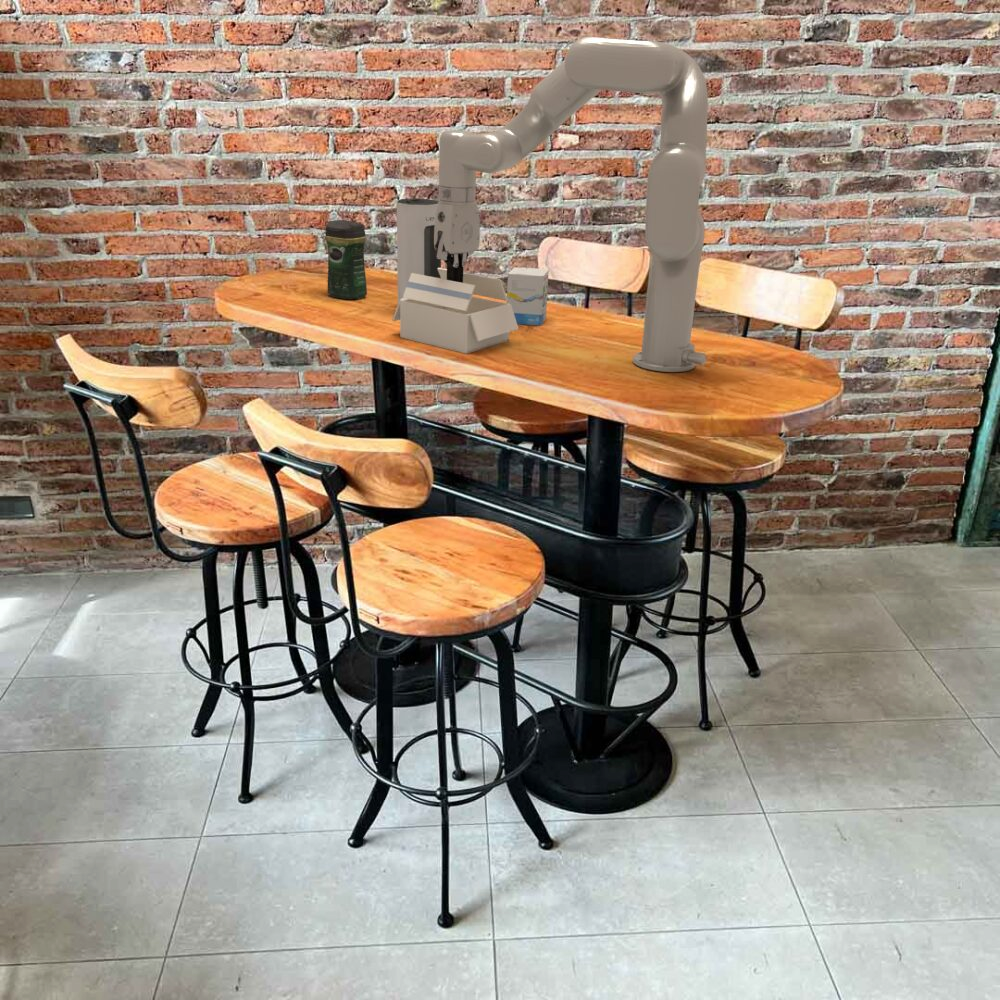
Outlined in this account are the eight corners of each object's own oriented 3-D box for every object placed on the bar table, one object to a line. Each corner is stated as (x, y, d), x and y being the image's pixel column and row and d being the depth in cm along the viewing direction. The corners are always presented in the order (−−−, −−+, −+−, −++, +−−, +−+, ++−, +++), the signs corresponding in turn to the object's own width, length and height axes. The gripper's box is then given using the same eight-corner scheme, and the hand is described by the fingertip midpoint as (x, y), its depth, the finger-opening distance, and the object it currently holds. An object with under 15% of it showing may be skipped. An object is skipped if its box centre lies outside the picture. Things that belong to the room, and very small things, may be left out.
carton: (519, 343, 210) (520, 305, 207) (477, 356, 199) (478, 316, 196) (434, 323, 223) (434, 287, 220) (390, 335, 213) (390, 297, 209)
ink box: (540, 326, 225) (543, 275, 220) (504, 323, 226) (506, 272, 221) (546, 318, 232) (549, 268, 228) (511, 315, 234) (513, 266, 229)
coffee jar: (372, 296, 246) (371, 221, 239) (351, 301, 240) (349, 224, 233) (343, 291, 251) (341, 216, 244) (322, 296, 245) (319, 219, 238)
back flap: (507, 299, 208) (500, 279, 204) (506, 301, 208) (499, 280, 204) (446, 287, 218) (438, 267, 214) (445, 288, 218) (437, 268, 214)
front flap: (466, 311, 198) (475, 286, 198) (465, 310, 198) (474, 285, 198) (403, 297, 208) (412, 273, 208) (402, 297, 207) (411, 272, 207)
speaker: (413, 319, 226) (413, 203, 215) (387, 310, 233) (386, 197, 223) (449, 313, 233) (451, 200, 222) (423, 305, 240) (423, 195, 229)
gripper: (447, 200, 192) (445, 293, 199) (493, 194, 203) (490, 283, 210) (418, 195, 196) (417, 287, 203) (465, 190, 207) (463, 277, 214)
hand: (454, 285), depth 207 cm, fingers closed
